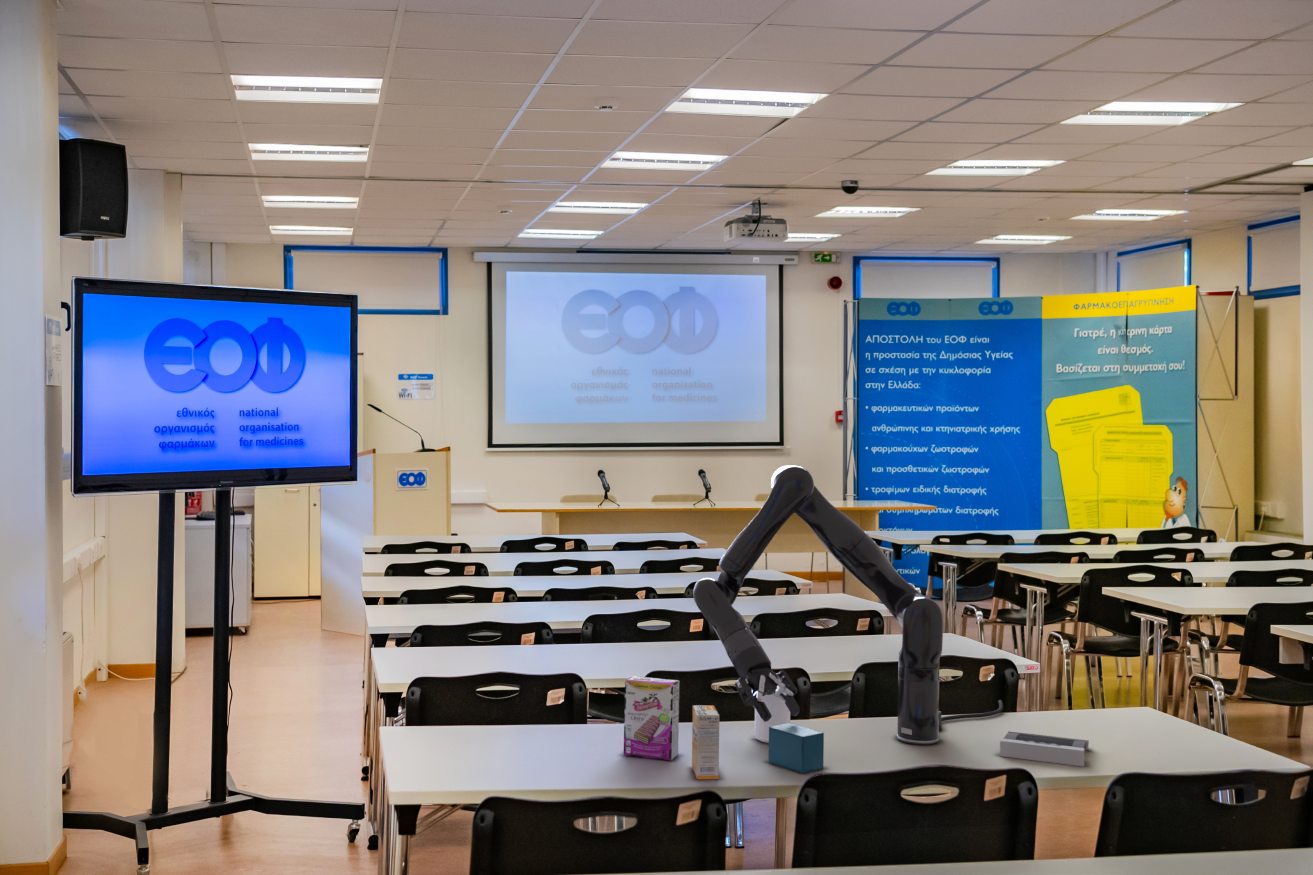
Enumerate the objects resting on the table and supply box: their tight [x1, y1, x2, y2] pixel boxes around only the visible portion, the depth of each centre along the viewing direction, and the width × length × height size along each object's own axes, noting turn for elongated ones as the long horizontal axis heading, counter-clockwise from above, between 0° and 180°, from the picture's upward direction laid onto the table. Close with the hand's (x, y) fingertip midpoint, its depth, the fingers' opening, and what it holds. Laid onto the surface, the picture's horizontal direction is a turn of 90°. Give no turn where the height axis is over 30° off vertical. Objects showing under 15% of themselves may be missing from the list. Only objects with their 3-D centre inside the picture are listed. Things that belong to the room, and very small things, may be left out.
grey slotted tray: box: [999, 730, 1090, 767], centre depth 244 cm, size 17×5×16 cm
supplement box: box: [691, 704, 720, 780], centre depth 224 cm, size 8×5×13 cm, turn 5°
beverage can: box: [753, 686, 791, 744], centre depth 251 cm, size 8×8×12 cm
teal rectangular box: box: [767, 722, 825, 775], centre depth 231 cm, size 10×6×8 cm, turn 39°
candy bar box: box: [623, 675, 681, 761], centre depth 237 cm, size 11×5×16 cm, turn 71°
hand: (782, 716), depth 234 cm, fingers open, 8 cm apart
